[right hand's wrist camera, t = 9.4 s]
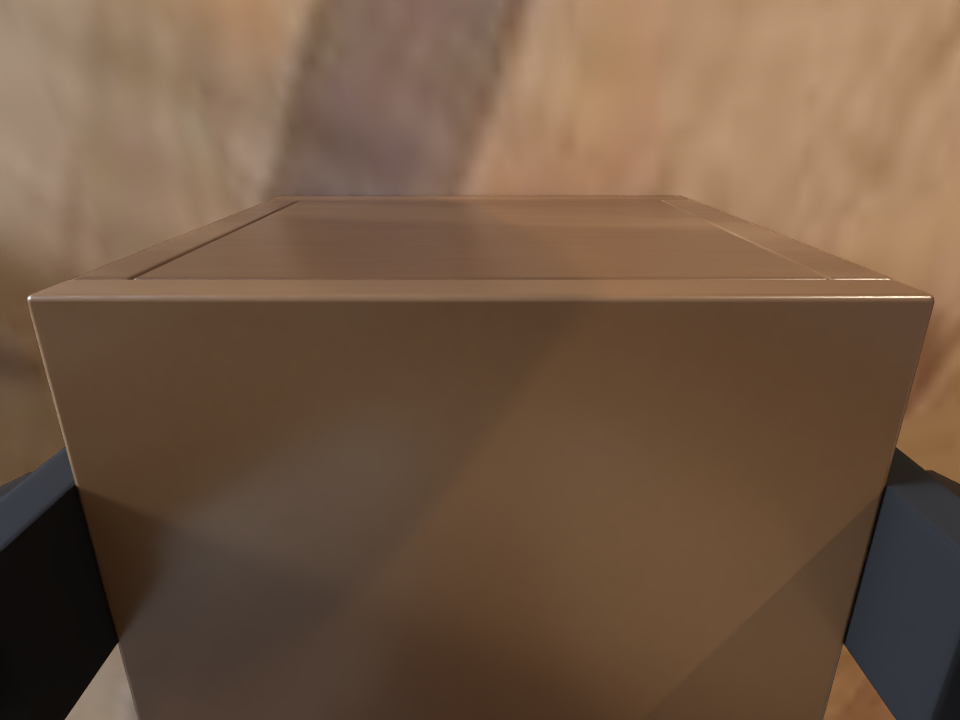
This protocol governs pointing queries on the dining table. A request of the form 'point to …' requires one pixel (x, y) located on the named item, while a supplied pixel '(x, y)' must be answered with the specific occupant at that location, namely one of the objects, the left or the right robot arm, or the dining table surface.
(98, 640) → the right robot arm
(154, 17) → the dining table surface
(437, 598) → the cabinet
